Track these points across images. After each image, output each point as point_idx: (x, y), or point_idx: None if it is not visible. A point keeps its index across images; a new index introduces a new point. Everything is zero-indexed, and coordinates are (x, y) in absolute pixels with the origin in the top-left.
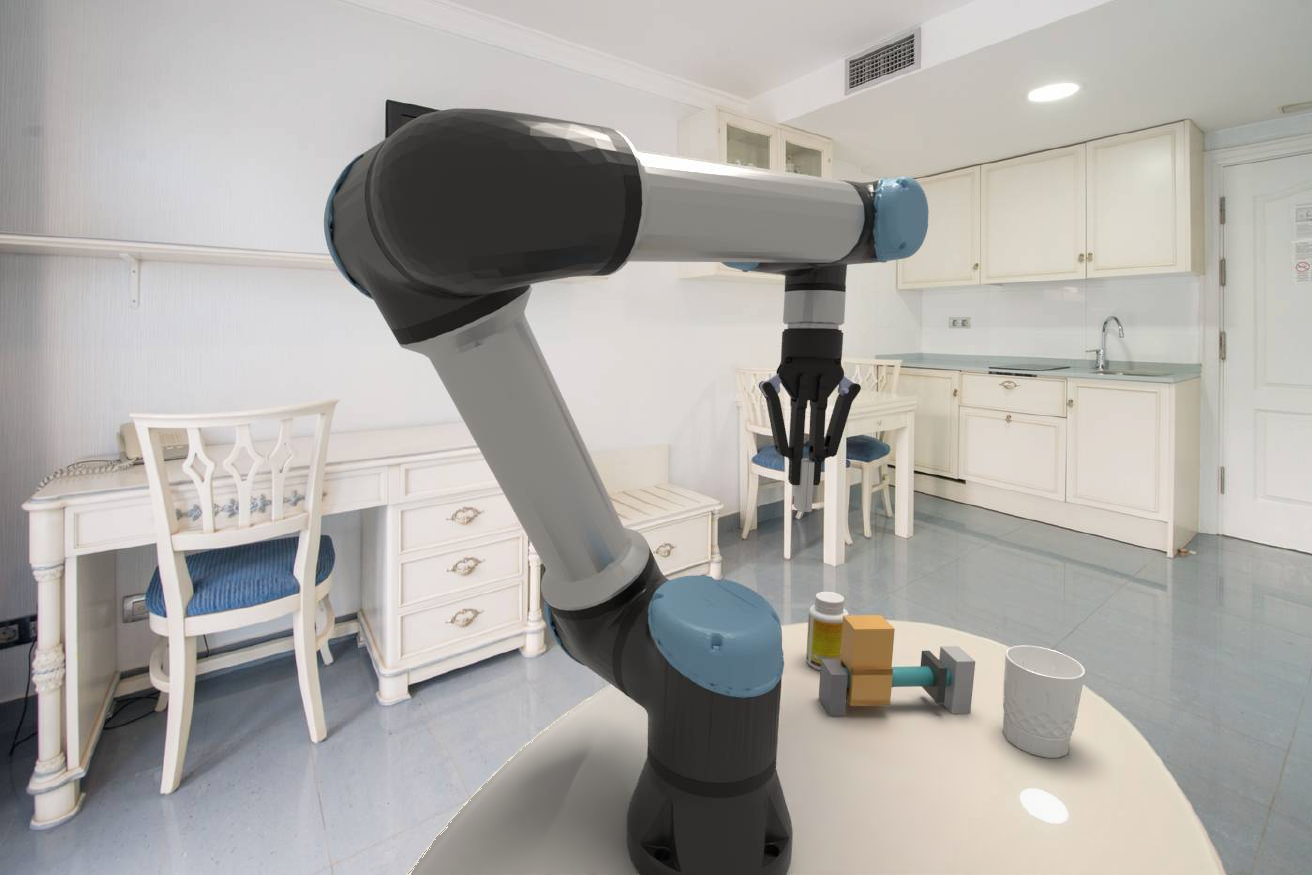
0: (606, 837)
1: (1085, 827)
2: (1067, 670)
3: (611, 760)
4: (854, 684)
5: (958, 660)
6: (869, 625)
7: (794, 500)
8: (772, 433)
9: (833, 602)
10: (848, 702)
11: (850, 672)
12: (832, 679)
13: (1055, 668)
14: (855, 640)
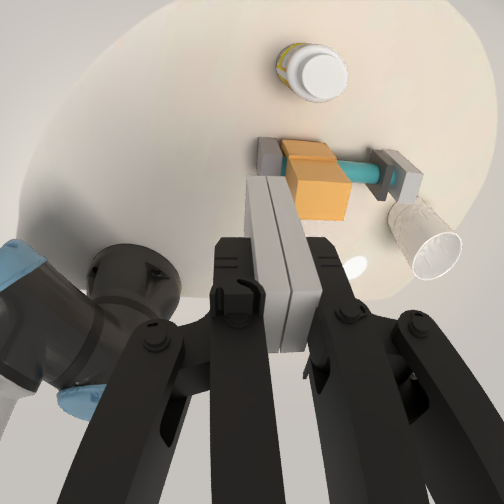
0: (81, 276)
1: (360, 282)
2: (453, 246)
3: (66, 220)
4: None
5: (400, 200)
6: (317, 210)
7: (247, 189)
8: (93, 420)
9: (321, 98)
10: None
11: None
12: None
13: (452, 236)
14: None
